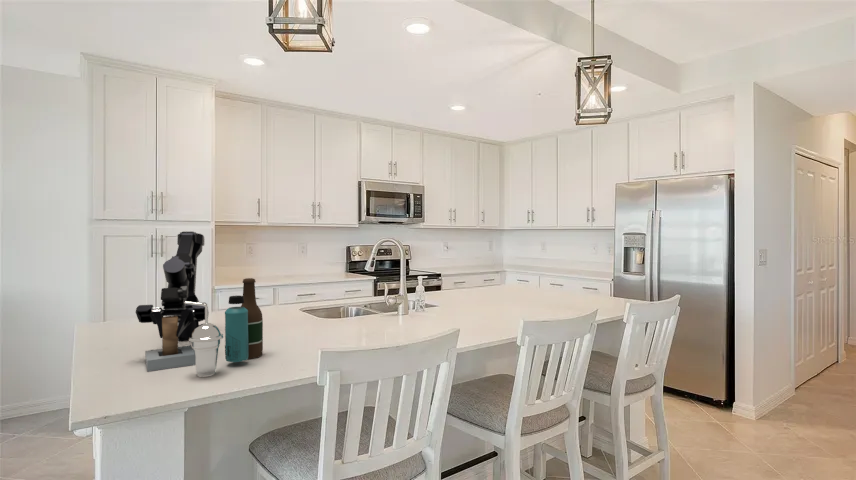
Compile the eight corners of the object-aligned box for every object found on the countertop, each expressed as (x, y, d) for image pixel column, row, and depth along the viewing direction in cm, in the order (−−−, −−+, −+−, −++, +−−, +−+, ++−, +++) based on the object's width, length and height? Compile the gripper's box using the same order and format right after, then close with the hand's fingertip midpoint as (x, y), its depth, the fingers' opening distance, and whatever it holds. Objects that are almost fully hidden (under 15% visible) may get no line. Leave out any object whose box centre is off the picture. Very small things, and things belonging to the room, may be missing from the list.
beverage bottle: (253, 362, 136) (253, 294, 135) (237, 368, 130) (237, 297, 129) (236, 360, 138) (235, 293, 138) (219, 366, 132) (218, 296, 131)
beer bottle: (268, 354, 144) (267, 278, 144) (249, 360, 137) (248, 280, 137) (249, 351, 148) (249, 276, 147) (230, 357, 141) (229, 279, 140)
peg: (174, 355, 138) (173, 315, 137) (180, 357, 136) (180, 316, 135) (159, 358, 135) (159, 317, 134) (166, 360, 132) (166, 319, 132)
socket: (190, 354, 143) (190, 345, 143) (195, 364, 133) (195, 354, 133) (145, 360, 137) (145, 350, 137) (147, 371, 127) (147, 360, 127)
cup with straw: (210, 380, 120) (210, 303, 119) (179, 378, 121) (178, 302, 121) (230, 370, 128) (229, 298, 128) (200, 368, 130) (200, 297, 129)
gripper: (137, 277, 135) (125, 322, 125) (206, 276, 141) (201, 319, 131) (144, 300, 143) (134, 344, 133) (210, 298, 149) (205, 340, 139)
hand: (169, 336), depth 134 cm, fingers closed on peg, 4 cm apart
